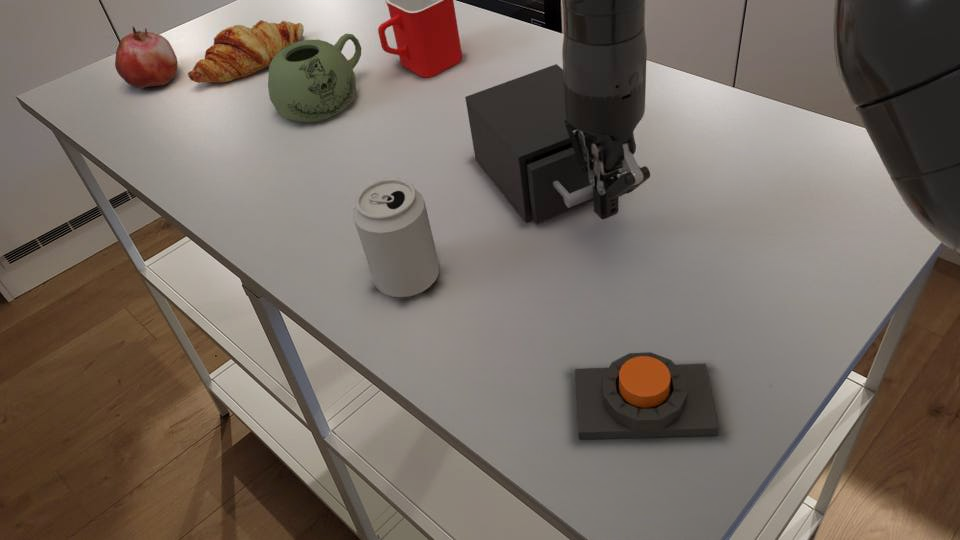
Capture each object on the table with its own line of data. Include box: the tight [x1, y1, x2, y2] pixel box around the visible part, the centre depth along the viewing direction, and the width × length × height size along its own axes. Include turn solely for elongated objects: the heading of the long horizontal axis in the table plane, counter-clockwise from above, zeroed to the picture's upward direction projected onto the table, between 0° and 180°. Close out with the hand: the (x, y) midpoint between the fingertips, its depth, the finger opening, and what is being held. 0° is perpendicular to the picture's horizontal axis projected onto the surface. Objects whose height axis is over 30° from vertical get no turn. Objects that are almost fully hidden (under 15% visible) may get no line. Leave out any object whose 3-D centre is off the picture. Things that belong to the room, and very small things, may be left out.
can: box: [352, 177, 440, 298], centre depth 80 cm, size 8×8×12 cm
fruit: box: [114, 26, 179, 89], centre depth 121 cm, size 9×10×10 cm
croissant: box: [187, 19, 305, 84], centre depth 123 cm, size 21×10×8 cm, turn 134°
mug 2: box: [377, 0, 463, 78], centre depth 114 cm, size 12×8×11 cm
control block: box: [574, 351, 720, 440], centre depth 68 cm, size 12×7×3 cm, turn 87°
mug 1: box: [267, 33, 362, 123], centre depth 111 cm, size 16×13×9 cm
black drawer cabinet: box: [464, 63, 571, 224], centre depth 91 cm, size 15×13×10 cm
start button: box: [619, 356, 671, 408], centre depth 67 cm, size 4×4×2 cm
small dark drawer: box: [525, 143, 593, 225], centre depth 88 cm, size 18×11×8 cm, turn 24°
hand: (606, 213), depth 82 cm, fingers closed
